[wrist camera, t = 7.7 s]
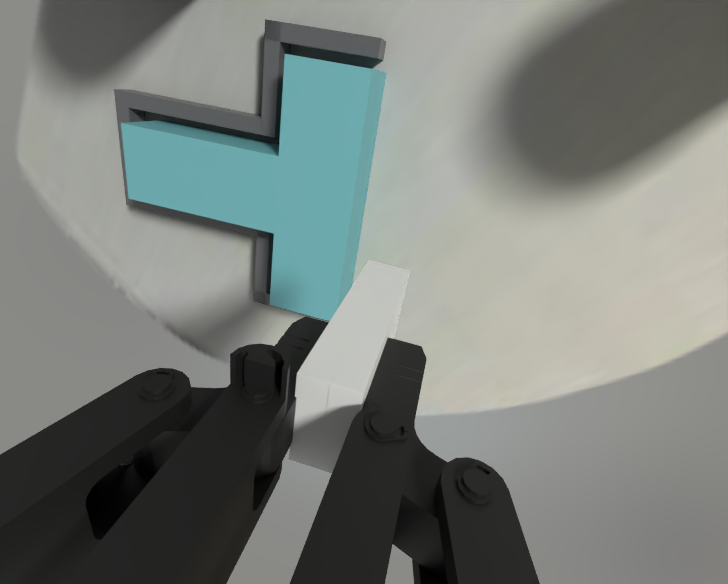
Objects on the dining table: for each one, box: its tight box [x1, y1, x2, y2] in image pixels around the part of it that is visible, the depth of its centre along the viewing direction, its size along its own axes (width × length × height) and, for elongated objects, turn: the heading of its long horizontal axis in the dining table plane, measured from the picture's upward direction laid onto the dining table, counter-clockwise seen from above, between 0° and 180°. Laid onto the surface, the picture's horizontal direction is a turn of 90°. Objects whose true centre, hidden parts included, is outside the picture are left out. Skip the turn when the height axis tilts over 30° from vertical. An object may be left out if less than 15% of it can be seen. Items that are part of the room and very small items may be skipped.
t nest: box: [114, 20, 386, 321], centre depth 30 cm, size 18×19×2 cm
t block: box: [121, 54, 386, 321], centre depth 29 cm, size 16×16×4 cm
